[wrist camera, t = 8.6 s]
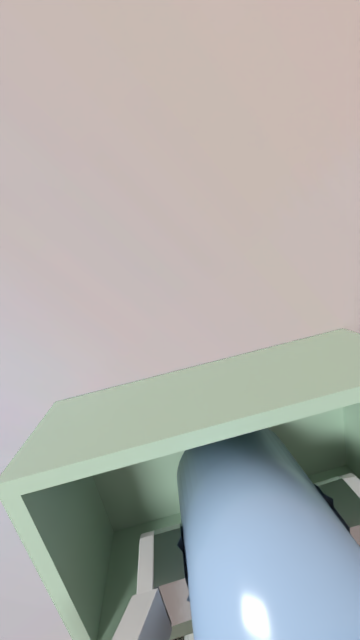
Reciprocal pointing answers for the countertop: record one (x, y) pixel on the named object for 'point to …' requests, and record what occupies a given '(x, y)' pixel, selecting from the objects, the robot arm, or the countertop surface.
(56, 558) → the green divided tray
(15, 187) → the countertop surface
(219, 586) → the light blue rounded cone
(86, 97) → the countertop surface
